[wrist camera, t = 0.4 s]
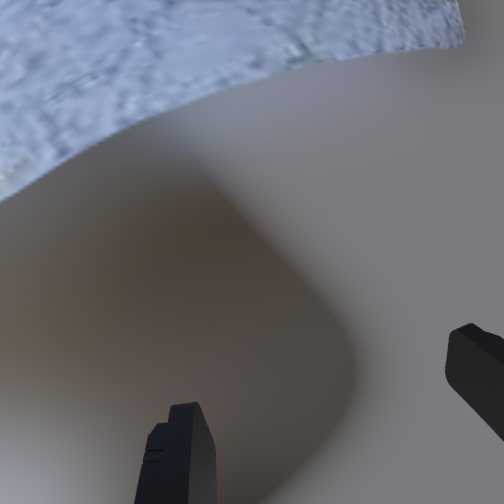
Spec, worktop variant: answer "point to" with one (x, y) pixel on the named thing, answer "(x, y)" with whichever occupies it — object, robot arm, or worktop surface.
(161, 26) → the worktop surface
